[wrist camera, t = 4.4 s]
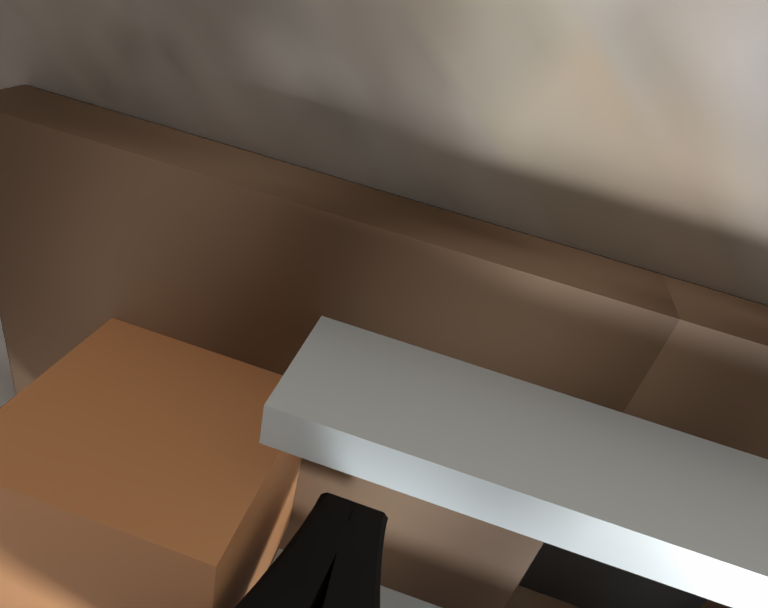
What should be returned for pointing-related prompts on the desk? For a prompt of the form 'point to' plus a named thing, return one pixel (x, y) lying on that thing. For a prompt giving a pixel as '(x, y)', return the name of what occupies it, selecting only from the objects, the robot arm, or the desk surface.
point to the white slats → (527, 462)
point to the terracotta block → (140, 478)
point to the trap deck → (360, 315)
